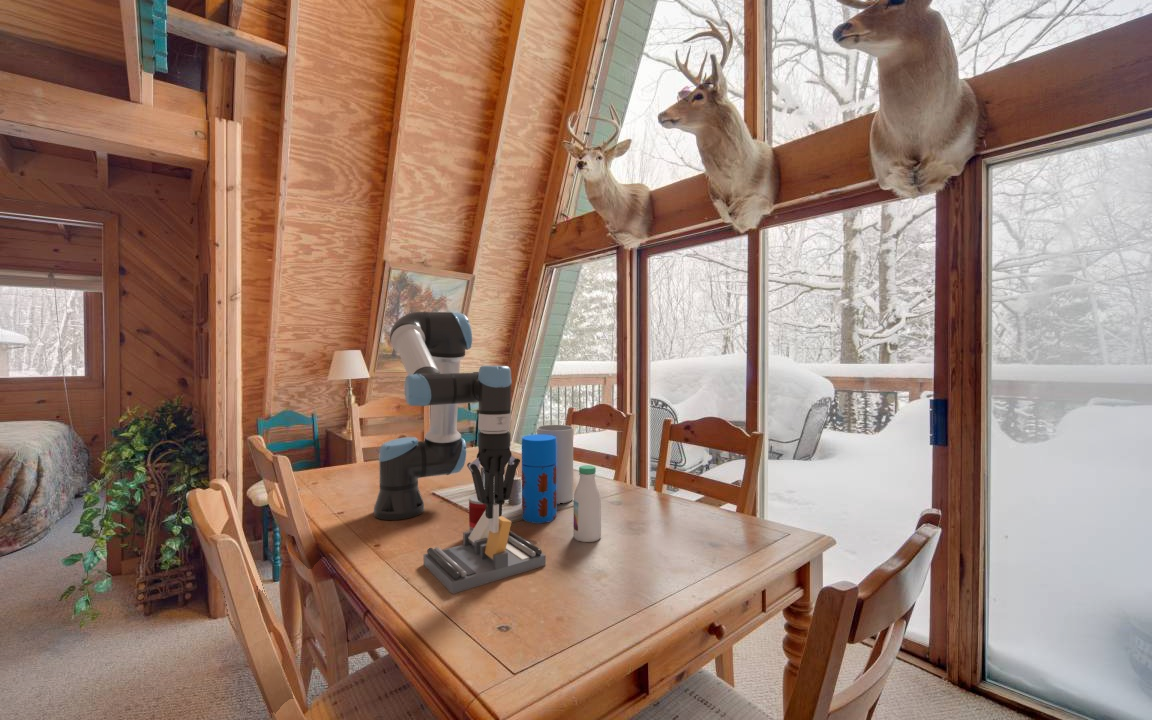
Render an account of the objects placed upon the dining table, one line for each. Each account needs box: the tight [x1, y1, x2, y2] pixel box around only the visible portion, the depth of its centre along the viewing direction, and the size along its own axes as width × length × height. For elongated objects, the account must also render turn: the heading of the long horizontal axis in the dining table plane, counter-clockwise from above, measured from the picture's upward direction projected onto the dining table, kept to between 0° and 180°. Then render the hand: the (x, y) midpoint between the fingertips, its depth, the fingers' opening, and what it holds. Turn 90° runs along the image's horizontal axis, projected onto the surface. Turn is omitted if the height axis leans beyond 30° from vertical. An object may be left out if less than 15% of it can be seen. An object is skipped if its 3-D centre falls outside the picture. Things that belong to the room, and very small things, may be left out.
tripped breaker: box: [485, 515, 512, 560], centre depth 121 cm, size 5×2×10 cm, turn 36°
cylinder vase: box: [536, 424, 574, 505], centre depth 176 cm, size 12×12×25 cm
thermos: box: [521, 434, 558, 524], centre depth 158 cm, size 11×11×25 cm
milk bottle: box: [573, 464, 602, 543], centre depth 142 cm, size 8×8×20 cm
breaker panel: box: [423, 530, 547, 595], centre depth 125 cm, size 18×24×6 cm
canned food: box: [468, 494, 495, 531], centre depth 143 cm, size 8×8×11 cm
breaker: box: [468, 510, 503, 547], centre depth 130 cm, size 5×2×10 cm
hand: (493, 530), depth 120 cm, fingers closed
